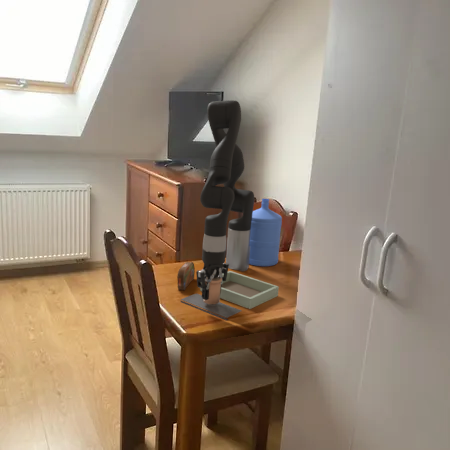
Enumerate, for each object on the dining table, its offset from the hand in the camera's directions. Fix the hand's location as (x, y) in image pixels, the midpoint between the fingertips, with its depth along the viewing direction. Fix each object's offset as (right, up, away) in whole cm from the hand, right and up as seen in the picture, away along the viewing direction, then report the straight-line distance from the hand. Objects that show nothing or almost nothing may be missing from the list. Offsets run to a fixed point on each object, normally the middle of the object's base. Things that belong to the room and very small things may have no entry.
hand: (211, 296), depth 159 cm
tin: (-10, +1, +18) cm, 21 cm away
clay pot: (0, -1, 0) cm, 1 cm away
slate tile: (0, -4, +1) cm, 4 cm away
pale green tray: (+9, -2, +13) cm, 16 cm away
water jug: (+20, +7, +54) cm, 58 cm away
